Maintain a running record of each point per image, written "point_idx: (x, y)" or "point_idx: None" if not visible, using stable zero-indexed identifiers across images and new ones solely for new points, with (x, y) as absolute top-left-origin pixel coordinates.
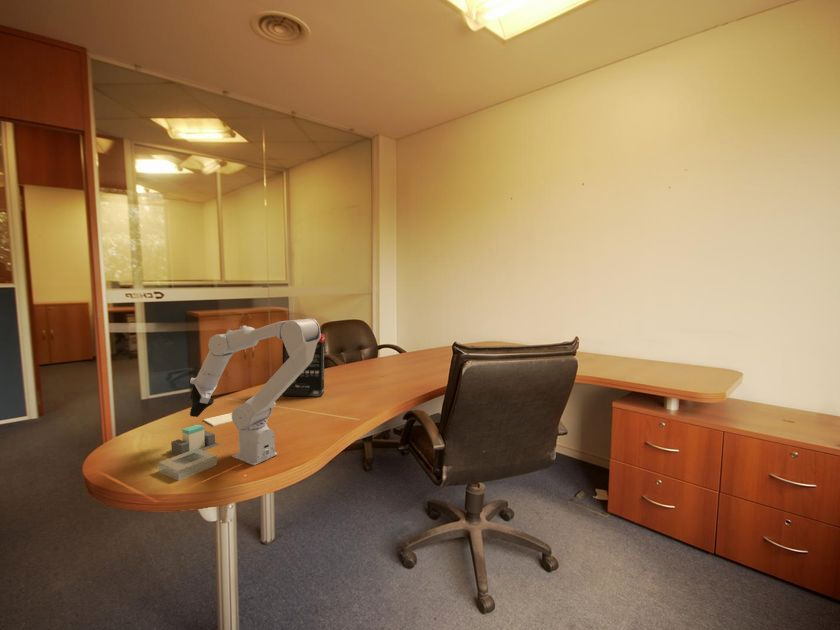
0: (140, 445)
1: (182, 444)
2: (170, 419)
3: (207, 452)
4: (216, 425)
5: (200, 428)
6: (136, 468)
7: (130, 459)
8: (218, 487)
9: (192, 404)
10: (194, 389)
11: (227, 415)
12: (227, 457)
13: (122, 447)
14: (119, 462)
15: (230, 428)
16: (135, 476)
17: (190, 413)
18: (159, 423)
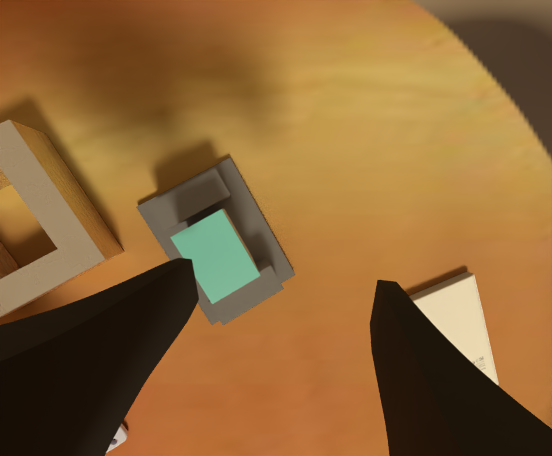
0: (347, 84)
1: (157, 207)
2: (540, 176)
3: (32, 296)
4: None
5: (202, 286)
6: (137, 67)
7: (232, 52)
8: None
9: (58, 315)
10: (410, 368)
11: (472, 351)
12: None
13: (357, 32)
14: (222, 19)
15: (361, 354)
16: (62, 63)
17: (159, 265)
18: (520, 143)
